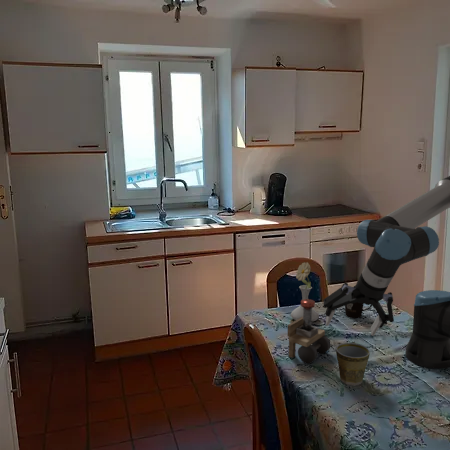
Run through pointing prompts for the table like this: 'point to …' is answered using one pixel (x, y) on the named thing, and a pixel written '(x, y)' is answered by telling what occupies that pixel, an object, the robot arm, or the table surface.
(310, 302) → the pin
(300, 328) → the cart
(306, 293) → the flower in vase
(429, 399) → the table surface
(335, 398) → the table surface
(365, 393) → the table surface
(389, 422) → the table surface
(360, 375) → the ceramic cup
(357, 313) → the coffee mug
